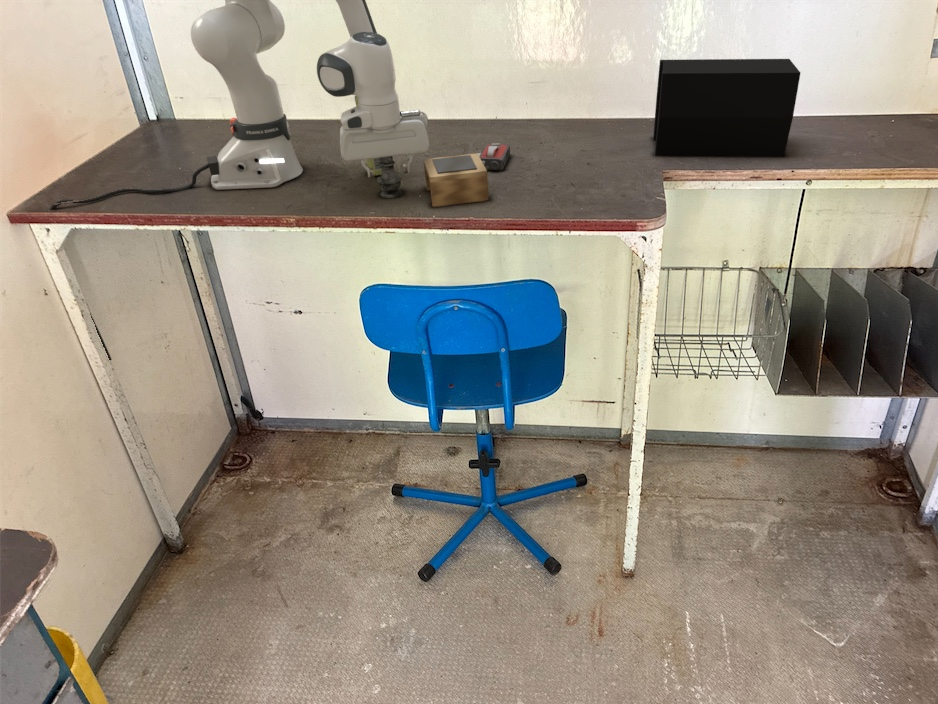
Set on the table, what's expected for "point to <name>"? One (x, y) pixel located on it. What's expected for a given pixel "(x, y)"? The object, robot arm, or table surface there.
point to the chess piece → (389, 178)
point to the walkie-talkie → (495, 156)
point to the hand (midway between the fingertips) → (389, 174)
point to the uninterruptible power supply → (725, 107)
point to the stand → (456, 179)
